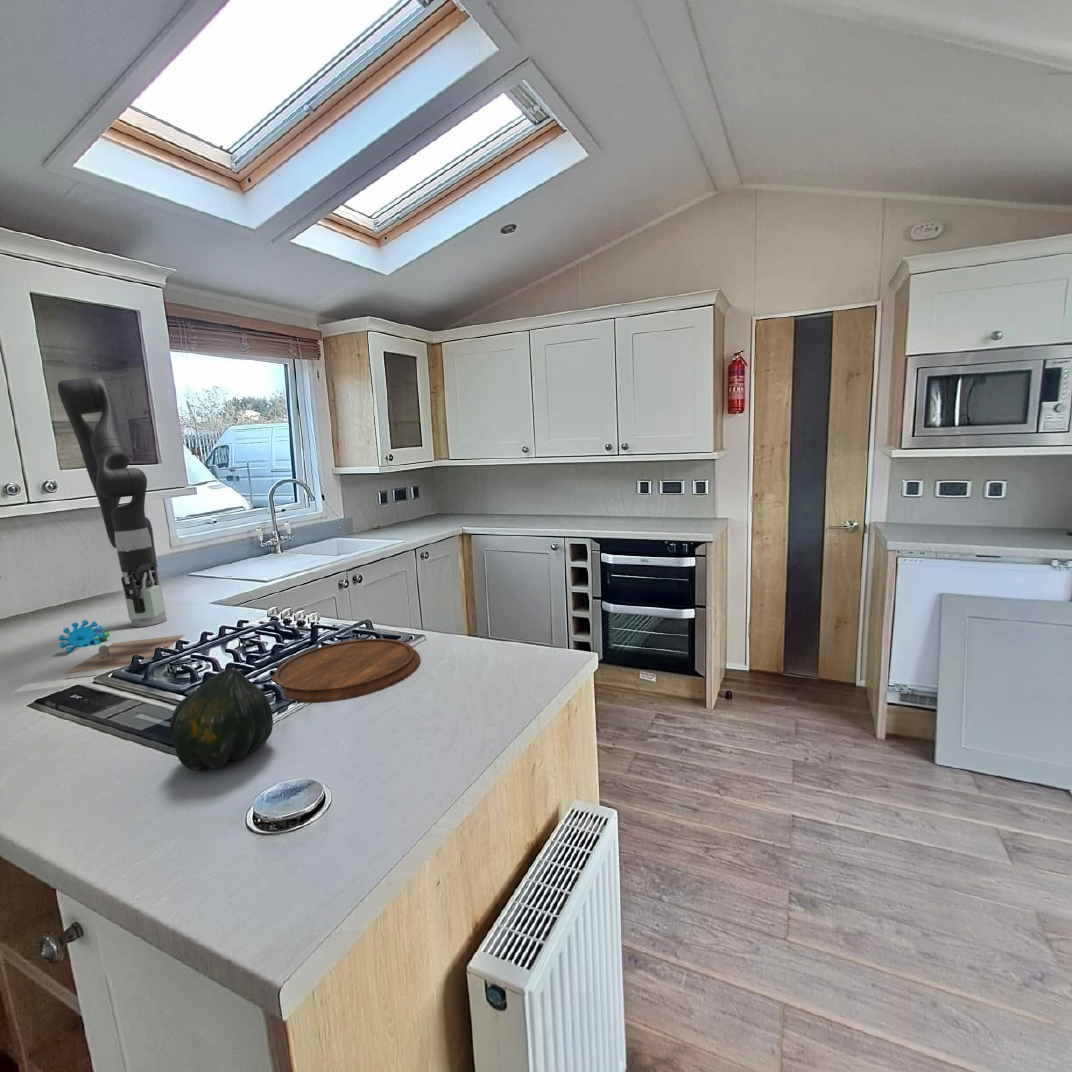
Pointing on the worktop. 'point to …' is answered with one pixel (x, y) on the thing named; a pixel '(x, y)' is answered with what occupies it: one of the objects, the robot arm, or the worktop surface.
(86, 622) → the gear
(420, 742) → the worktop surface
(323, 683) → the cutting board
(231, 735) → the squash
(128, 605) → the pale green block
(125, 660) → the board
